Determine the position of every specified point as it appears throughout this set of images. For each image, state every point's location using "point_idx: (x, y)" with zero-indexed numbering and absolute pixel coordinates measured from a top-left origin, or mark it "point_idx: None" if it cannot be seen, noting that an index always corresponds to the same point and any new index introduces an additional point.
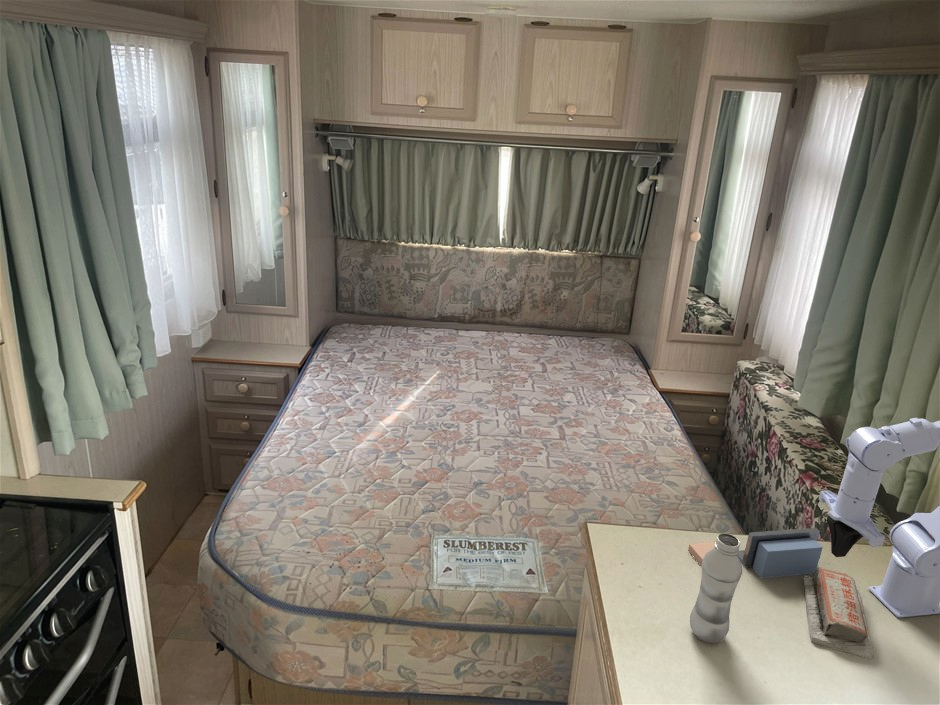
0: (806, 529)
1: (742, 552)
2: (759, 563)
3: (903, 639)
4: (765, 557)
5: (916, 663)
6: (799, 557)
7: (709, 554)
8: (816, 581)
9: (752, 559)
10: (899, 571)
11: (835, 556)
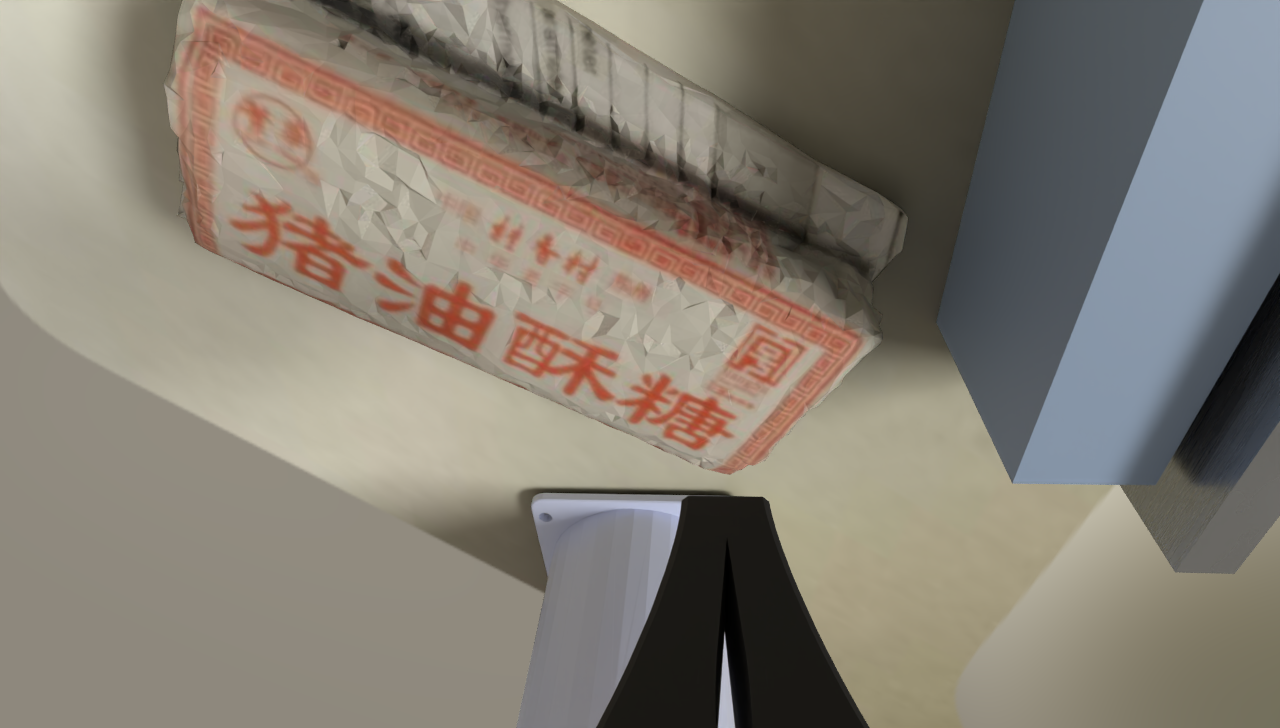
0: (1274, 499)
1: None
2: None
3: (394, 432)
4: None
5: (239, 391)
6: (1037, 255)
7: None
8: (812, 261)
9: None
10: (586, 712)
11: (691, 497)
